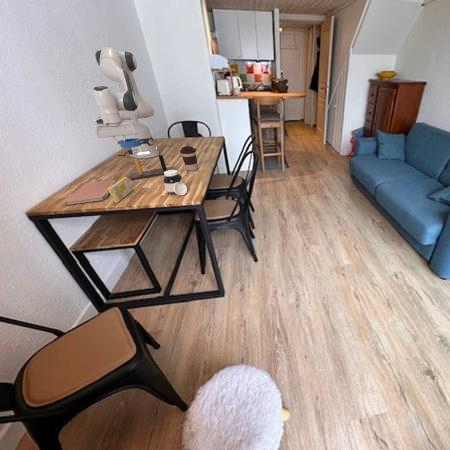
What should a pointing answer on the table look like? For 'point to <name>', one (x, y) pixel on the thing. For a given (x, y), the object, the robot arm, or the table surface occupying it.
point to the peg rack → (150, 173)
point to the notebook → (91, 192)
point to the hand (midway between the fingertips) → (121, 143)
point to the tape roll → (130, 143)
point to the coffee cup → (189, 157)
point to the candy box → (120, 189)
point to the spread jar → (174, 183)
